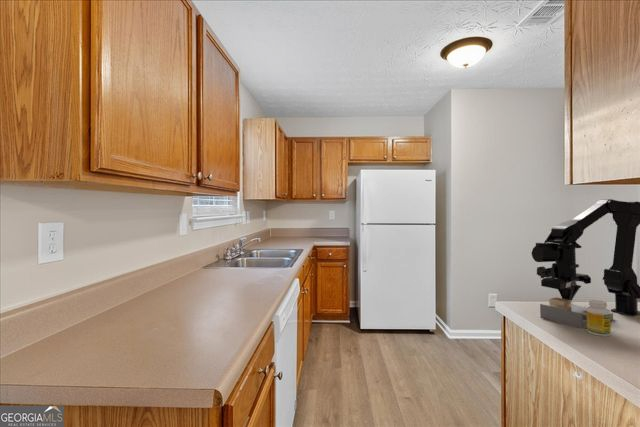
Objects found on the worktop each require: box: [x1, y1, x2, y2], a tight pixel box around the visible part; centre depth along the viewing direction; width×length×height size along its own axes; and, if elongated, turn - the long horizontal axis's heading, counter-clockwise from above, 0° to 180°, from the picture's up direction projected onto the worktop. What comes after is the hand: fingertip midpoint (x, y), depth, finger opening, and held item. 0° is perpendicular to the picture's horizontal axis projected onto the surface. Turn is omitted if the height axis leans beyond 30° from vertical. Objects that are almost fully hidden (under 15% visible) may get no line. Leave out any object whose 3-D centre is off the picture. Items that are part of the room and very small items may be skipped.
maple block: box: [548, 296, 572, 311], centre depth 110 cm, size 4×4×4 cm
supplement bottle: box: [586, 299, 612, 337], centre depth 95 cm, size 5×5×10 cm
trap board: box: [539, 303, 614, 329], centre depth 108 cm, size 18×12×4 cm
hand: (566, 304), depth 111 cm, fingers closed
